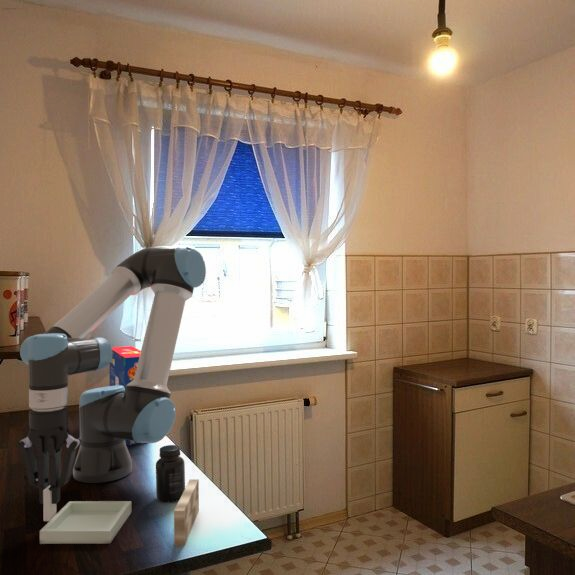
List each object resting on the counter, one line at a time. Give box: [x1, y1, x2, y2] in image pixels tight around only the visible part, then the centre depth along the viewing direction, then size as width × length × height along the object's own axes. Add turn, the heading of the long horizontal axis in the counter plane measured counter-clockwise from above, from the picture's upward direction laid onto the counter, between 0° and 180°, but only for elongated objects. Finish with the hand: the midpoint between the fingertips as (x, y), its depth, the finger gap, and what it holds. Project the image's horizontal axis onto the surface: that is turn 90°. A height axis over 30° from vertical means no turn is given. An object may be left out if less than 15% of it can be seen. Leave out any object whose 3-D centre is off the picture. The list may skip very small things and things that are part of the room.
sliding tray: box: [39, 500, 133, 545], centre depth 111 cm, size 14×14×2 cm
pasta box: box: [108, 345, 141, 446], centre depth 179 cm, size 28×8×28 cm, turn 29°
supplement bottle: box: [155, 444, 186, 503], centre depth 126 cm, size 7×7×12 cm
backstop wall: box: [173, 478, 200, 547], centre depth 111 cm, size 16×2×7 cm, turn 0°
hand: (50, 518), depth 111 cm, fingers closed
